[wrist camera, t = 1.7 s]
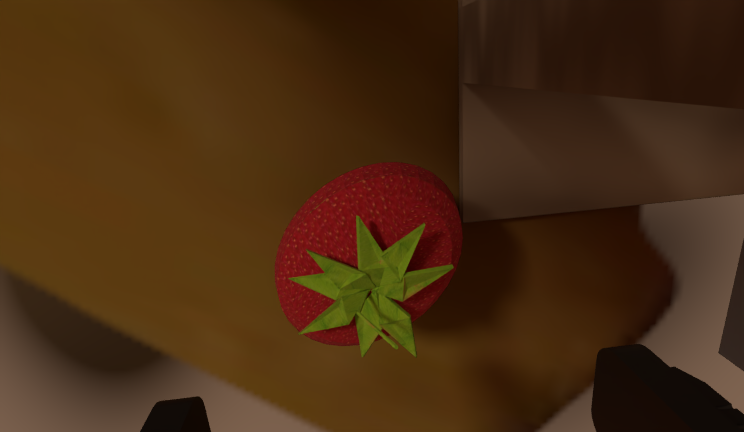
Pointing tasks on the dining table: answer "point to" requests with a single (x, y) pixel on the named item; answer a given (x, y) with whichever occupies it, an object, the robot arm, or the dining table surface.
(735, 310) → the trapdoor
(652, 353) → the robot arm
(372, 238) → the strawberry
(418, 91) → the dining table surface
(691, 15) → the stand
